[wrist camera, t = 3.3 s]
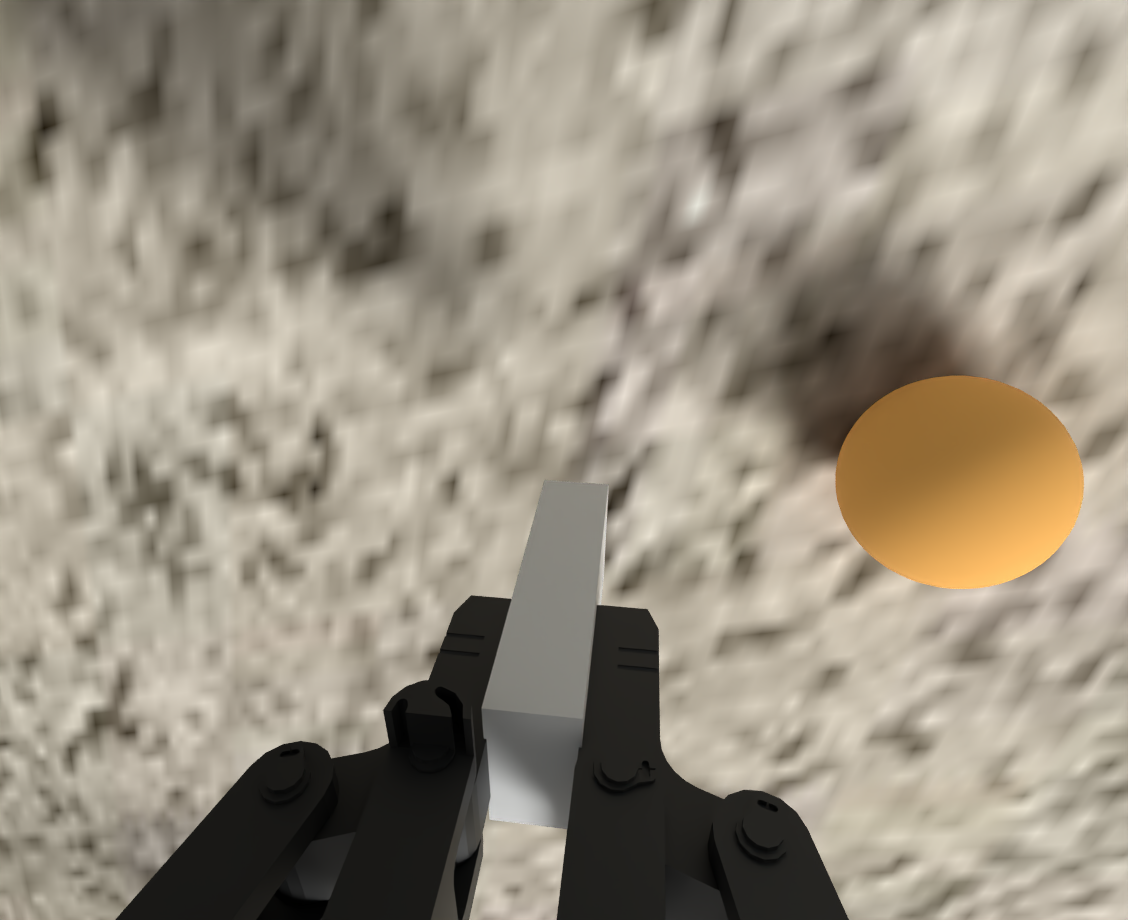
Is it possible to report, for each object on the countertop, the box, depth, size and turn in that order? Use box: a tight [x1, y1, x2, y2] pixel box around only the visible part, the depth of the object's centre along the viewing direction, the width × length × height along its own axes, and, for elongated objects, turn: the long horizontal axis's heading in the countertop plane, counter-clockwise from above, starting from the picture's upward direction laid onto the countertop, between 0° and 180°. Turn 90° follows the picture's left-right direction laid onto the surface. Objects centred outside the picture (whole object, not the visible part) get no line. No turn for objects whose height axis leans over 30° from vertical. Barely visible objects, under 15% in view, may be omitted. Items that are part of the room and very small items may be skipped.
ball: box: [836, 376, 1084, 589], centre depth 17 cm, size 6×6×6 cm
